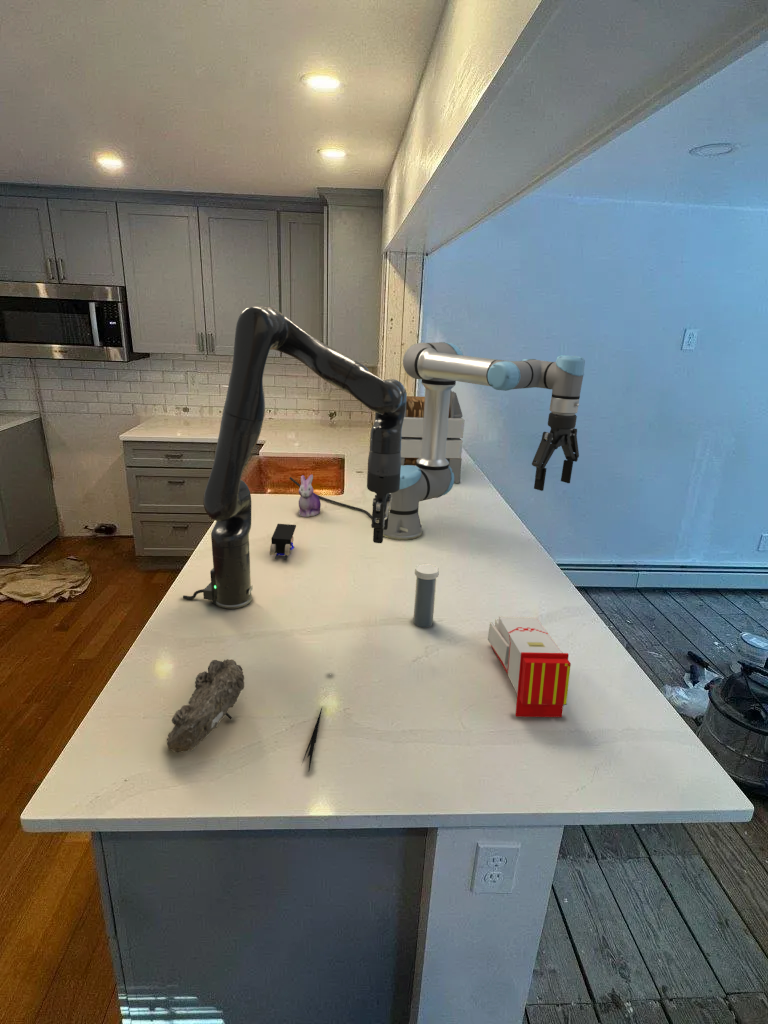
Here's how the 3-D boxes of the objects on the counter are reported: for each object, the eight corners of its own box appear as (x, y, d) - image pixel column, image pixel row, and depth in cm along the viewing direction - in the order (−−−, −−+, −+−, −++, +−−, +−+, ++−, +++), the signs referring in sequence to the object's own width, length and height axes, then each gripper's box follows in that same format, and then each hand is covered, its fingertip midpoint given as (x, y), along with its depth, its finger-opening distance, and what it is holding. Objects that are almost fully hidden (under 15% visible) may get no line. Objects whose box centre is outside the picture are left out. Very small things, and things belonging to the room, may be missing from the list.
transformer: (382, 463, 289) (386, 382, 275) (445, 464, 293) (451, 384, 279) (390, 482, 257) (394, 392, 243) (460, 483, 261) (468, 394, 247)
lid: (409, 572, 140) (410, 566, 140) (428, 567, 143) (429, 561, 143) (424, 581, 136) (424, 575, 135) (443, 576, 139) (443, 570, 138)
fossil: (192, 660, 117) (244, 628, 112) (224, 691, 120) (276, 661, 115) (142, 746, 98) (202, 712, 93) (182, 779, 101) (242, 748, 96)
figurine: (302, 519, 209) (301, 480, 204) (293, 510, 217) (292, 472, 212) (325, 516, 213) (326, 477, 208) (316, 507, 222) (316, 470, 217)
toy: (534, 602, 136) (579, 659, 107) (529, 653, 139) (572, 723, 110) (484, 601, 136) (516, 658, 107) (480, 652, 139) (510, 722, 109)
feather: (331, 679, 122) (336, 673, 122) (307, 777, 96) (313, 769, 95) (324, 675, 122) (329, 669, 121) (298, 772, 95) (304, 764, 95)
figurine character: (291, 566, 174) (297, 542, 188) (290, 545, 171) (296, 522, 184) (269, 566, 174) (276, 541, 187) (268, 544, 171) (275, 521, 184)
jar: (409, 620, 145) (412, 568, 140) (424, 615, 147) (428, 564, 142) (421, 629, 141) (425, 576, 136) (436, 624, 144) (441, 572, 139)
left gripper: (372, 460, 136) (369, 523, 141) (362, 476, 123) (359, 545, 128) (403, 463, 135) (399, 526, 141) (396, 479, 122) (392, 549, 127)
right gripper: (548, 419, 148) (537, 496, 155) (598, 411, 163) (586, 482, 171) (525, 414, 153) (515, 489, 160) (575, 407, 169) (564, 476, 176)
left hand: (380, 535), depth 134 cm, fingers open, 8 cm apart
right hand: (552, 485), depth 166 cm, fingers open, 13 cm apart
